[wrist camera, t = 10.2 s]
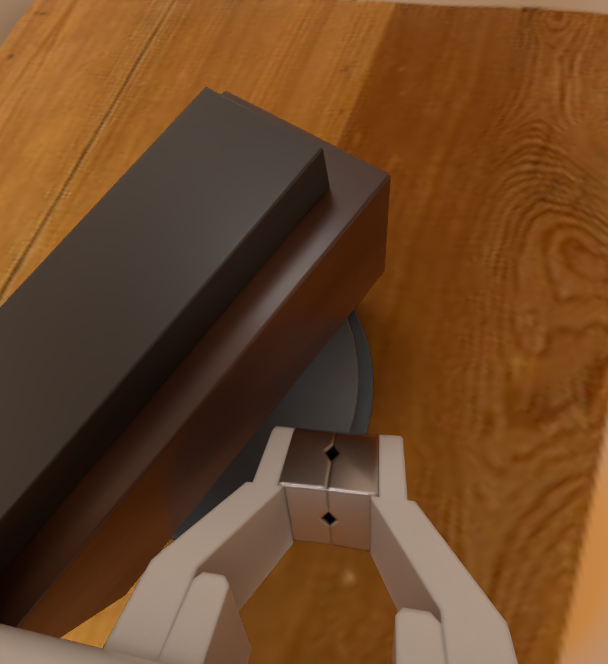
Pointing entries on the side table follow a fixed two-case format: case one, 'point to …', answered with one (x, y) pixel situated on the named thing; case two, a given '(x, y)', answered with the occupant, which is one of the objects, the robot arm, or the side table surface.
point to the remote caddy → (176, 349)
